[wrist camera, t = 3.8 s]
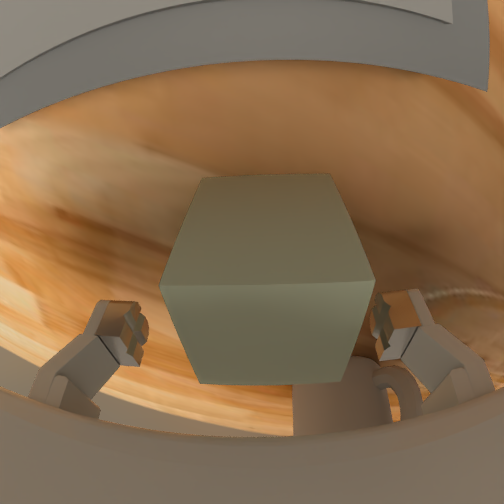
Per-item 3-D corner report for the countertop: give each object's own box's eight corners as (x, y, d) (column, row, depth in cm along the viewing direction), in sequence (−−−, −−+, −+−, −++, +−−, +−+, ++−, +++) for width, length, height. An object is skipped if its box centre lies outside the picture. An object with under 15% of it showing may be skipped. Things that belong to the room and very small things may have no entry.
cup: (272, 383, 22) (271, 490, 15) (377, 320, 16) (408, 460, 10) (331, 400, 24) (338, 489, 17) (424, 350, 19) (452, 454, 12)
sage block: (329, 173, 11) (375, 280, 6) (321, 269, 14) (340, 381, 9) (202, 177, 11) (158, 285, 7) (218, 272, 14) (199, 383, 10)
